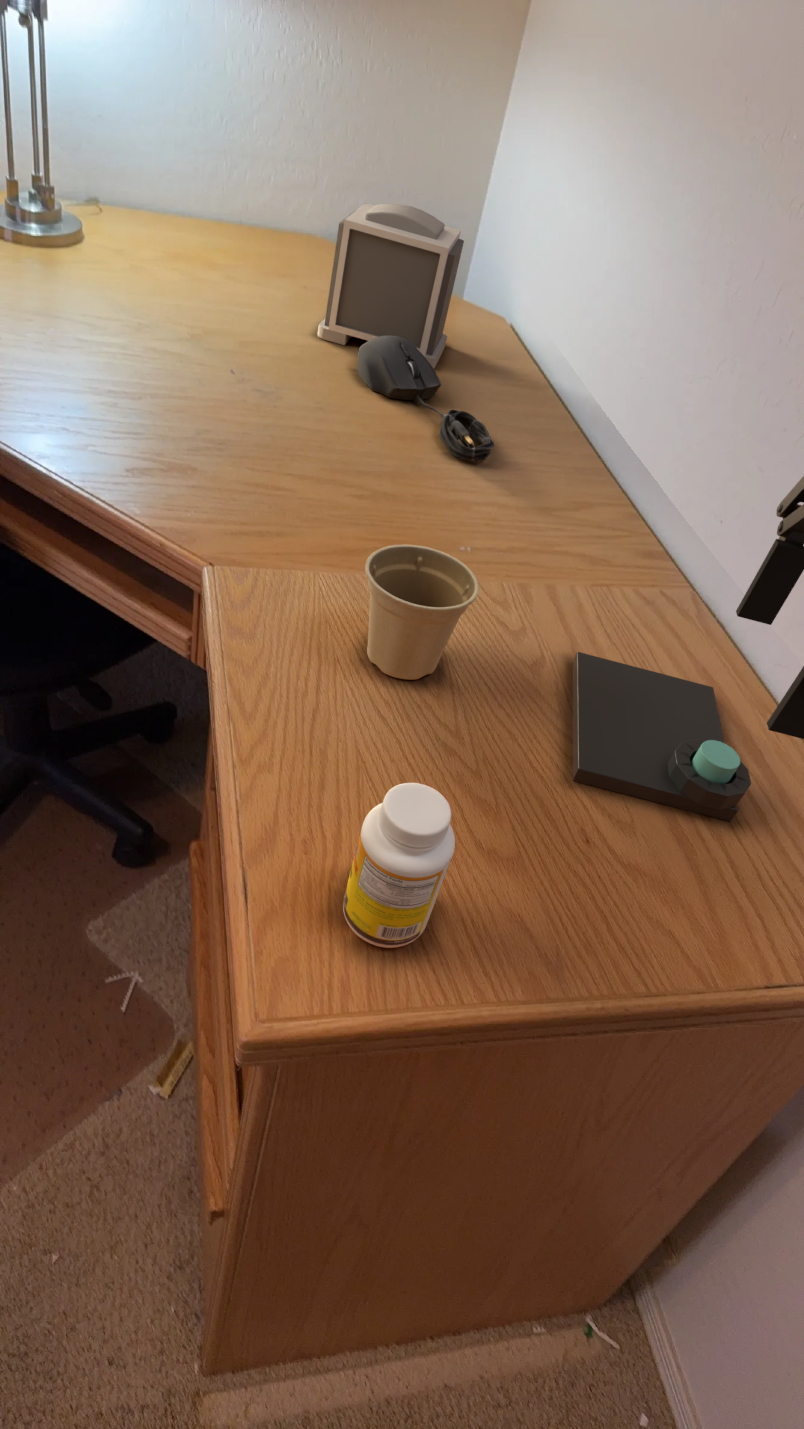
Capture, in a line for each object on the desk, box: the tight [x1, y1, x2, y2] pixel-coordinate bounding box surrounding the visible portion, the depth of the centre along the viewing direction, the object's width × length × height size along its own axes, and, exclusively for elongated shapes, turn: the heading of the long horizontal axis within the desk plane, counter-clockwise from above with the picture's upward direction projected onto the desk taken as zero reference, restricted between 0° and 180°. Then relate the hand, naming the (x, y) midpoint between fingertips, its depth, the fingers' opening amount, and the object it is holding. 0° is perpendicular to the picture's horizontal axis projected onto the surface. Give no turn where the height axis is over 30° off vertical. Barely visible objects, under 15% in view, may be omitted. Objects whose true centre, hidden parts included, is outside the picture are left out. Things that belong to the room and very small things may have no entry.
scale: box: [572, 651, 752, 822], centre depth 74 cm, size 16×14×3 cm
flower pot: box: [364, 544, 480, 681], centre depth 74 cm, size 9×9×9 cm
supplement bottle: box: [342, 782, 456, 949], centre depth 52 cm, size 6×6×10 cm
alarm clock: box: [317, 202, 465, 369], centre depth 131 cm, size 18×13×18 cm
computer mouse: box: [356, 336, 495, 462], centre depth 117 cm, size 10×32×6 cm, turn 29°
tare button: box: [692, 740, 741, 784], centre depth 69 cm, size 3×3×2 cm
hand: (768, 670), depth 63 cm, fingers open, 13 cm apart
